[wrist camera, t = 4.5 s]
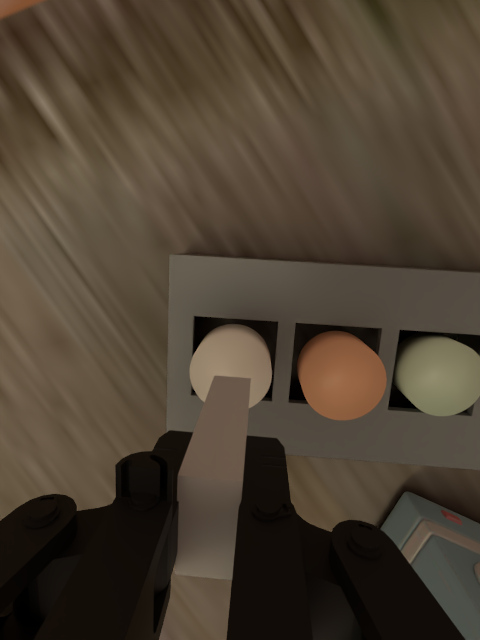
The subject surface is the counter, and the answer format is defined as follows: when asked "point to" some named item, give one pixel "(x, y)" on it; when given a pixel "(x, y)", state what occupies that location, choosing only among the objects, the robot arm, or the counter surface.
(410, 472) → the counter surface
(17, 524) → the robot arm
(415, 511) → the radio
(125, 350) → the counter surface
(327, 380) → the button terracotta
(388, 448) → the grey piece
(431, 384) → the button sage
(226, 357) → the button ivory
